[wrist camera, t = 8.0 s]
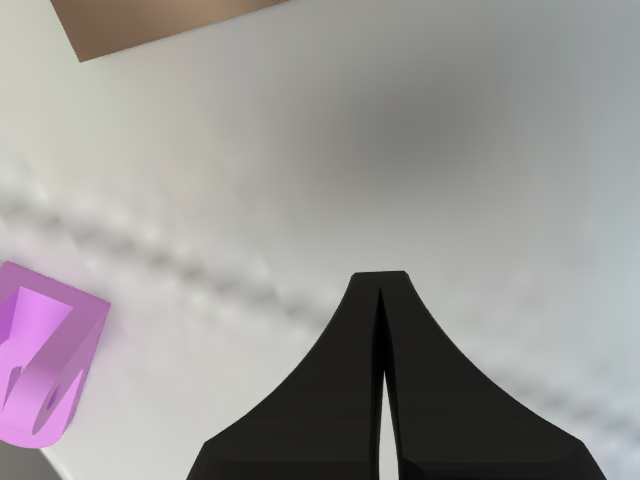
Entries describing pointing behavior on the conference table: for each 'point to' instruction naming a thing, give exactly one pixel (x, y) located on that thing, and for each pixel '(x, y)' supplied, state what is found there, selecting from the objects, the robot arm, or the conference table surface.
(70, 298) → the bracket
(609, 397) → the conference table surface
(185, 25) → the stand
